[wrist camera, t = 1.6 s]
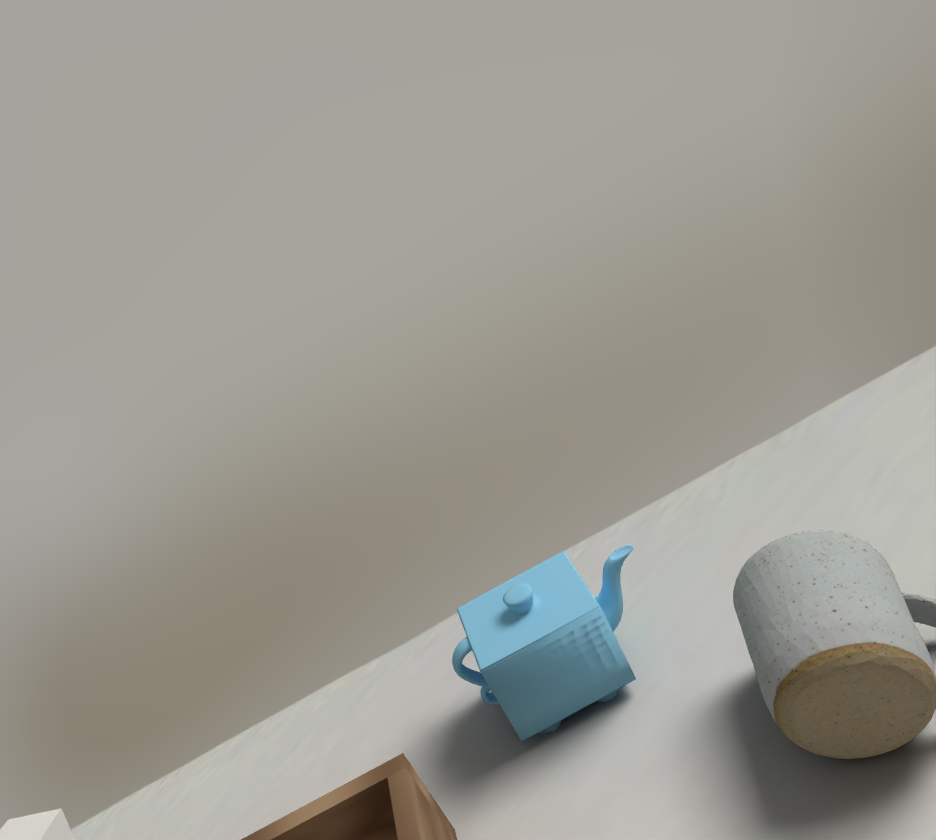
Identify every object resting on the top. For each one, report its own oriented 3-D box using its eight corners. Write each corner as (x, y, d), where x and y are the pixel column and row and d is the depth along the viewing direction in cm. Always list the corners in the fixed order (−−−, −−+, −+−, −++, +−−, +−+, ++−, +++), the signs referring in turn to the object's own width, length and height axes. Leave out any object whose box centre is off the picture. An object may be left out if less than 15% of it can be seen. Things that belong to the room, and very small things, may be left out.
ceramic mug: (795, 789, 40) (749, 669, 37) (755, 660, 47) (713, 551, 44) (1048, 732, 37) (1021, 597, 34) (964, 605, 44) (935, 484, 41)
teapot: (650, 603, 54) (607, 509, 51) (695, 661, 49) (649, 559, 46) (479, 696, 54) (425, 607, 51) (504, 766, 48) (445, 670, 45)
